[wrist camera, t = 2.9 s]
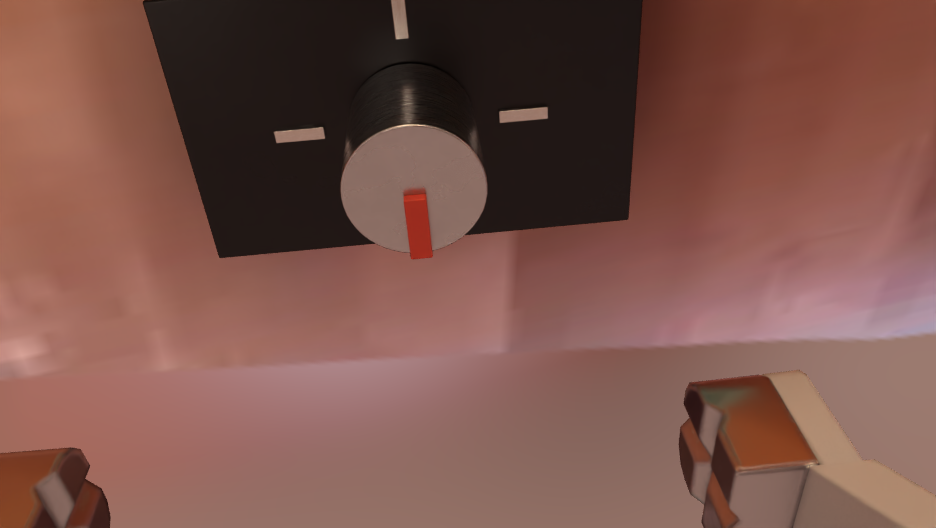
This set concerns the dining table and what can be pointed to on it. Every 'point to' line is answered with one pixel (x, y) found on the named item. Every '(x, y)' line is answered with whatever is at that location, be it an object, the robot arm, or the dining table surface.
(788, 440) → the robot arm
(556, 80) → the black dial base
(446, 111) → the rotary knob
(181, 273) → the dining table surface
